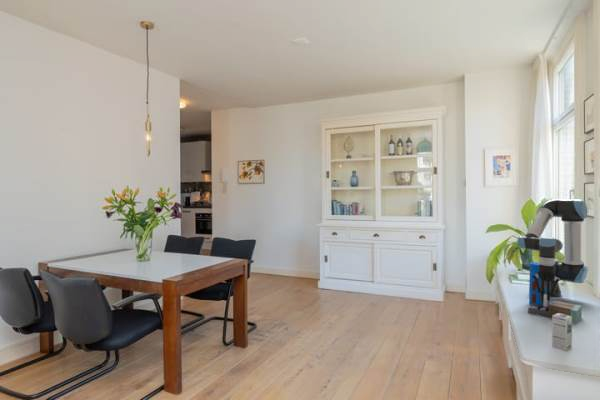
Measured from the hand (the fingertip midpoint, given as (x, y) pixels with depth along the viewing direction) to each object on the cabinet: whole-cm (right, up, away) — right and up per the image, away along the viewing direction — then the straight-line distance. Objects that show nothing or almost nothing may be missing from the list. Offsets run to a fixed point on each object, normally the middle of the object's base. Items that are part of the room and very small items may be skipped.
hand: (545, 305), depth 208 cm
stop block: (+10, -5, -10) cm, 15 cm away
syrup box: (-22, -6, -44) cm, 50 cm away
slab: (+5, -2, -6) cm, 8 cm away
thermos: (+7, -4, +17) cm, 19 cm away
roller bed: (+2, -5, -2) cm, 5 cm away
